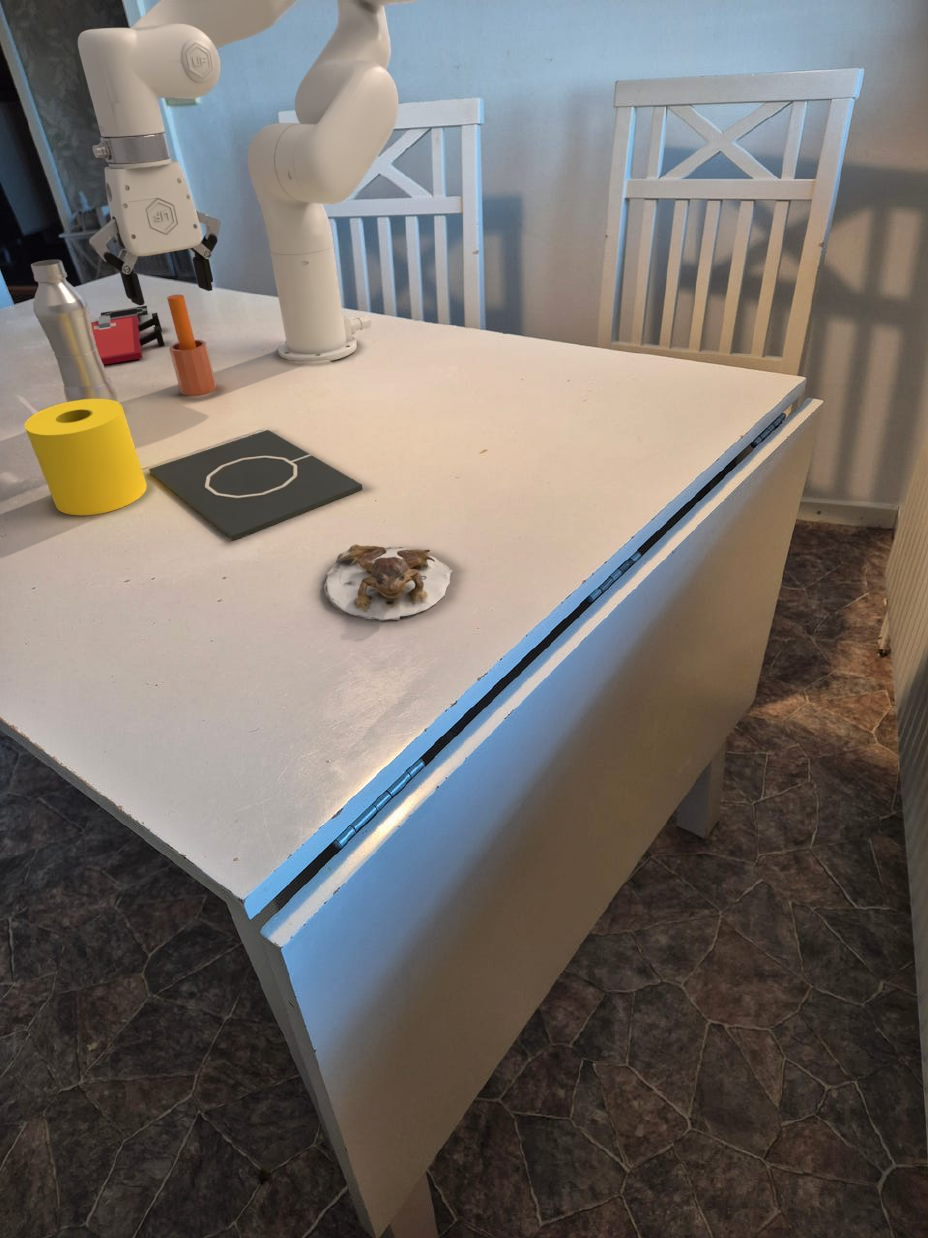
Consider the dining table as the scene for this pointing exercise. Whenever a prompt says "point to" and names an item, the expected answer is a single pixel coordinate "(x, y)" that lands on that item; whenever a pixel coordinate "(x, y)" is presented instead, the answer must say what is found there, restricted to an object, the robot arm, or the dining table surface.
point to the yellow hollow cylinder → (87, 456)
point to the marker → (181, 322)
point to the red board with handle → (124, 334)
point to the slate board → (253, 483)
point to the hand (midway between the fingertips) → (172, 296)
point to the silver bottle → (70, 334)
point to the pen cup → (193, 369)
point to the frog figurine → (385, 582)
